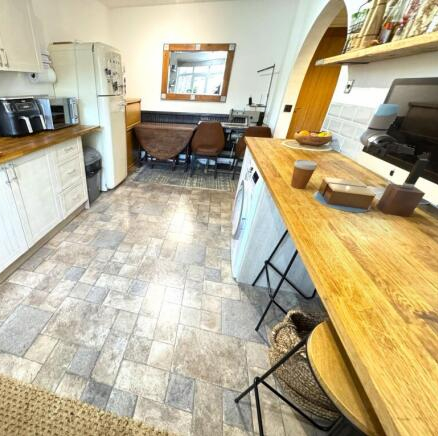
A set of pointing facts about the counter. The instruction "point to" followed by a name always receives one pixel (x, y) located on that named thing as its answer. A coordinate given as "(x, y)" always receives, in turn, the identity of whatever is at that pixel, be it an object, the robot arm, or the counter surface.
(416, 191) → the knife block
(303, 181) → the disposable coffee cup
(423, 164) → the cake knife
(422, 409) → the counter surface
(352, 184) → the cake
